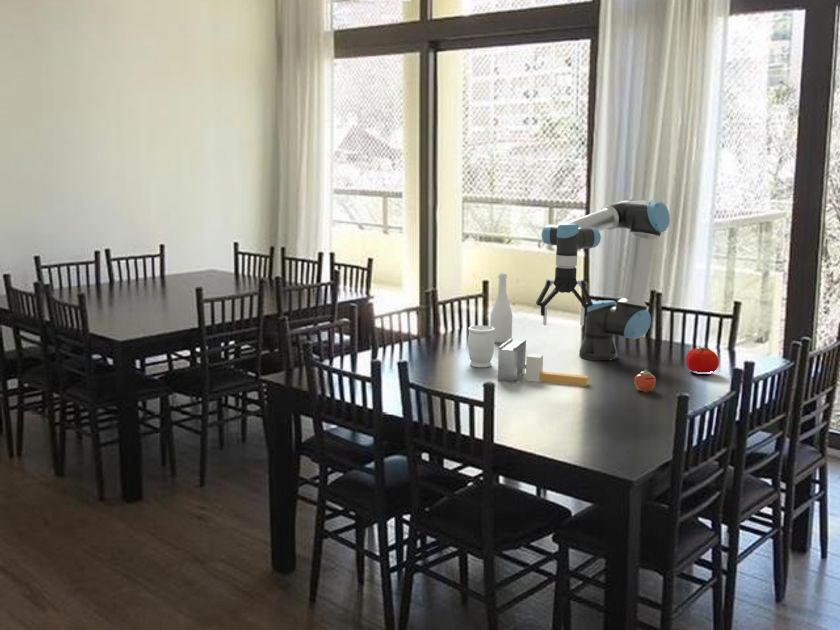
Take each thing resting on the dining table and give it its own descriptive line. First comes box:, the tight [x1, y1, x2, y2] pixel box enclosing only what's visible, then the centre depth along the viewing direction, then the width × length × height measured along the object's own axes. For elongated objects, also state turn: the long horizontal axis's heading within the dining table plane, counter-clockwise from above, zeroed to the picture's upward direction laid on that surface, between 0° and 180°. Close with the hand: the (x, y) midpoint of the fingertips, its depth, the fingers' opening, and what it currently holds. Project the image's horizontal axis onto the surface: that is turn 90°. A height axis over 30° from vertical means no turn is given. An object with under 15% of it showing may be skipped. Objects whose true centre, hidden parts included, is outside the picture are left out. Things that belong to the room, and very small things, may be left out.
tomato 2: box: [633, 368, 657, 392], centre depth 307 cm, size 7×7×8 cm
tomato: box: [685, 345, 720, 372], centre depth 331 cm, size 11×13×10 cm
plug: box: [521, 353, 589, 387], centre depth 317 cm, size 24×5×9 cm, turn 69°
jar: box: [467, 325, 496, 369], centre depth 339 cm, size 11×10×15 cm
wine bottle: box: [489, 272, 513, 344], centre depth 381 cm, size 10×10×30 cm
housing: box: [497, 337, 527, 384], centre depth 323 cm, size 6×16×13 cm, turn 159°
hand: (563, 324), depth 318 cm, fingers open, 13 cm apart
